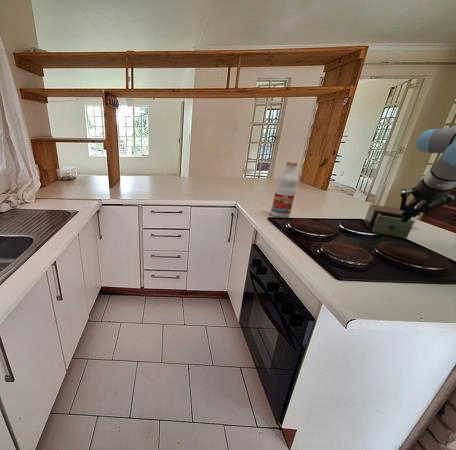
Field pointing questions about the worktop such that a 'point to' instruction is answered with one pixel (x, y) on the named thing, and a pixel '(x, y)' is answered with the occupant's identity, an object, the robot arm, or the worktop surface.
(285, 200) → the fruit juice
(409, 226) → the drawer
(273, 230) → the worktop surface
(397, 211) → the cabinet
